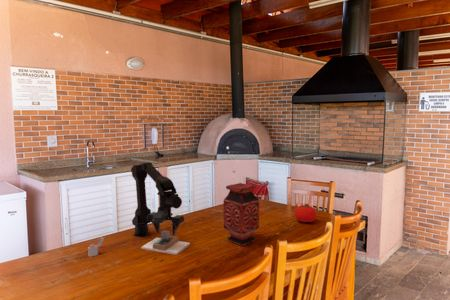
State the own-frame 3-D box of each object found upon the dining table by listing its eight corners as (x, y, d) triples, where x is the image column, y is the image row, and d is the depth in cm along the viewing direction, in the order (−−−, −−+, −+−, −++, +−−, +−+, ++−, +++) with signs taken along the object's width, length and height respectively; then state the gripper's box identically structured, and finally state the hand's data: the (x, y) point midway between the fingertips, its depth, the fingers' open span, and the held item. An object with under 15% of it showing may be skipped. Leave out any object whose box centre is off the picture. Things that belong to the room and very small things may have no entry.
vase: (240, 234, 192) (241, 182, 189) (259, 241, 182) (260, 186, 179) (222, 240, 182) (223, 185, 179) (241, 248, 172) (242, 190, 169)
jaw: (154, 246, 170) (154, 243, 170) (164, 239, 179) (164, 236, 179) (156, 246, 170) (156, 243, 169) (167, 240, 179) (167, 236, 179)
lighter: (89, 256, 161) (88, 240, 160) (88, 255, 162) (87, 239, 161) (104, 253, 165) (103, 237, 164) (103, 252, 166) (102, 236, 165)
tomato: (318, 221, 216) (318, 204, 215) (311, 226, 206) (312, 209, 205) (298, 217, 224) (298, 201, 222) (291, 222, 213) (291, 206, 212)
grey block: (161, 245, 173) (161, 232, 172) (164, 243, 175) (164, 230, 175) (166, 246, 172) (166, 232, 171) (169, 244, 174) (169, 230, 174)
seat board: (141, 248, 171) (141, 242, 170) (156, 239, 184) (156, 233, 183) (176, 255, 164) (176, 248, 163) (189, 244, 176) (189, 238, 176)
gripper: (140, 206, 167) (140, 237, 169) (173, 210, 160) (173, 242, 162) (152, 201, 177) (153, 230, 179) (184, 204, 171) (184, 234, 172)
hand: (165, 234), depth 173 cm, fingers open, 9 cm apart
